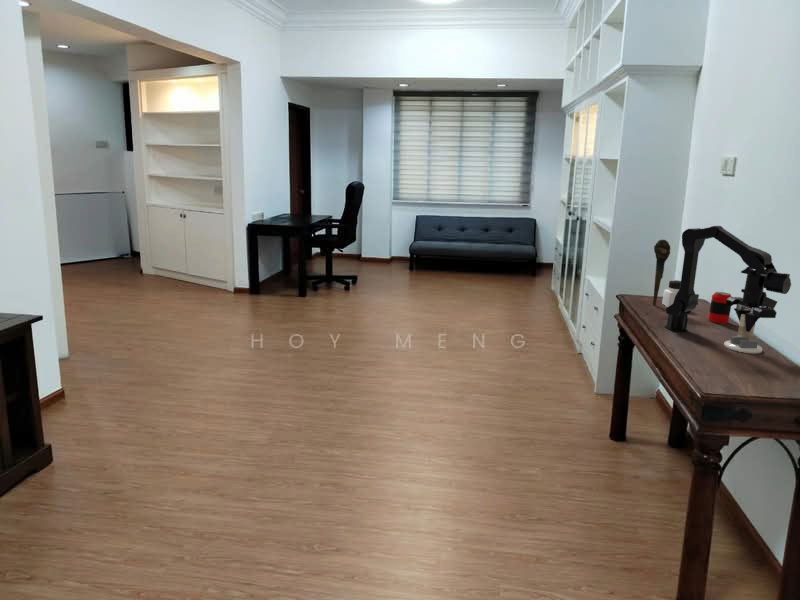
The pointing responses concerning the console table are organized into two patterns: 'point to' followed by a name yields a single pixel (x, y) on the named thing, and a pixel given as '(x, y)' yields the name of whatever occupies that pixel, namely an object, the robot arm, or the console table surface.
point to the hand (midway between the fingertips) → (745, 330)
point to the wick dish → (743, 345)
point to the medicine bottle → (671, 292)
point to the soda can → (719, 308)
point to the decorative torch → (660, 264)
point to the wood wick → (744, 328)
